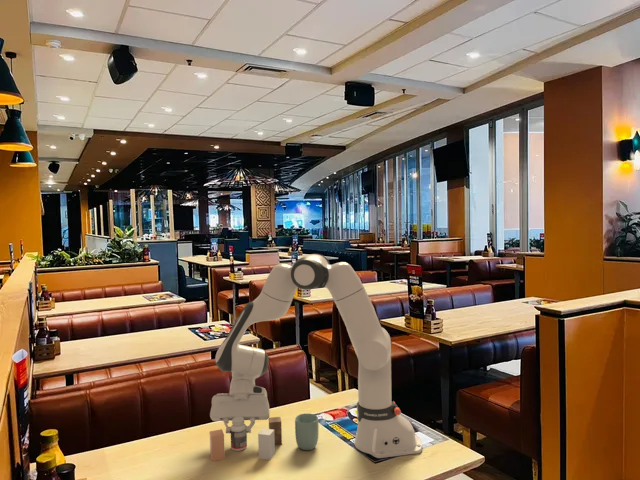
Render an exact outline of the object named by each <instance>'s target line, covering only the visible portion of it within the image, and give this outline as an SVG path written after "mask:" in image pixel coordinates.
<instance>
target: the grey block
mask: <svg viewBox="0 0 640 480" xmlns="http://www.w3.org/2000/svg"><path fill="white" fill-rule="evenodd" d="M257 440H258V442H257V444H258V459H262V460H270V461H271V460H272V459H273V457H274V456H275V454H276V453H275V452H276V451H275V450H276V449H275V448H276V447H275V446H276V445H275V440H274V430H273V429H269V428H262V429H261V430H260V431H259V433H258V435H257Z"/></svg>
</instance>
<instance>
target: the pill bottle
mask: <svg viewBox="0 0 640 480" xmlns="http://www.w3.org/2000/svg"><path fill="white" fill-rule="evenodd" d="M246 426H247V424H245V420H244V418H243V417H235V418H233V419H232V421H231V426H230V427H231V428H230V432H231V433H230V448H231V450H232V451H237V452H239V451H243V450H245V449H247V447H248V436H247V435H248V433H246Z"/></svg>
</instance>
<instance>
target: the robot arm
mask: <svg viewBox="0 0 640 480" xmlns="http://www.w3.org/2000/svg"><path fill="white" fill-rule="evenodd" d="M323 288H326V289H327V290H328V291H329V294H330V295H331V298H332V299H333V302H334V303H335V306H336V308H337V309H338V312H339V315H340V316H341V319H342V321H343V323H344V325H345V327H346V331H347V333H348V337H349V339H350V342H351V345H352V346H353V349H354V352H355V355H356V357H357V360H358V372H357V373H358V375H357V385H358V386H357V388H358V389H357V390H358V391H357V392H358V393H357V394H358V395H357V396H358V401H357V403H356V404H357V405H356V418H357V429H356V435H355V439H354V441H353V443H354V446H355V448H356V449H357V450H359V451H360V452H362V453H365V454H369V455H371V456H372V457H374V458H376V459H383V458H389V457H391V458H392V457H398V456H406V455H407V456H408V455H414V454H415V455H416V454H420V453H421V452H422V451H423V442H422V440H421V437H420V436H419V435H418V434H416V433H415V430H414V427H413V425H412V424H411V422H410V421H409V420H408V419H407V418H405V417H404V416H403V415H401V413H402V411H401V409H400V407H398V405H397V404H396V402H395V401H394V400H393V401H392V353H391V352H392V347H391V345H392V341H391V340H392V339H391V336H390V333H388V331H387V330H386V329H385V328H384V327H383V326H382V325H381V323H380V320H379V317H378V316H377V312H376V310H375V307H374V305H373V303H372V300H371V298H370V297H369V294H368V292H367V291H366V289H365V286H364V285H363V282H362V281H361V279H360V277H359V276H358V274H357V273H356V271H355V270H354V268H353V267H352V265H351V264H350V263H348V262H346V261H340V262H336V263H333V264H330V261H329V259H328V258H327V256H325V255H323V254H321V253H310V254H306V255H304V256H302V257H299V259H296V261H295V262H294V263H293V265H290V264H287V263H278V264H276V265H274V266H273V268H272V269H271V271H270V272H269V274H268V276H267V277H266V279H265V282H264V284H263V287H262V289H261V292H260V294H259V295H258V296H257V297H256V298H255V299H253V301H250V302H247V303H246V304H245V306H244V307H243V308H242V310H241V312H240V313H239V314H238V316H237V318H236V320H235V322H234V323H233V325H232V327H231V329H230V330H229V332H228V334H227V335H226V337H225V339H224V340H223V341H222V343H221V344H220V345H219V348H217V351H216V354H215V359H214V360H215V361H214V362H215V364H216V367H217V368H218V369H219V370H220V371H221V372H225V373H226V372H227V373H231V377H232V379H231V381H230V385H229V392H228V393H227V392H226V393H216V394H215V395H213V396H212V398H211V408H210V412H209V417H210V420H212V422H221V421H222V422H223V423H224V426H225V434H231V432H230V428H231V426H228V424H229V423H230V422H232V419H233V418H235V417H243V418H244V421H250V423H249V425H246V433H247V434H251V433H252V428H253V427H254V425H255V423H256V421H267V420H269V418H271V417H270V416H271V415H270V413H271V412H270V403H269V400H268V392H267V390H266V388H264V387H262V386H259V385H256V379H258V378H260V377H262V376H263V375H265V374H266V373H267V371H268V368H269V363H270V361H269V359H270V357H269V355H268V353H267V352H266V350H265V349H263V348H258V347H254V346H249V345H243V344H239V343H240V342H241V340H242V338H243V336H244V334H245V333H246V332H247V331H246V330H247V329H248V328H249V327H250V326H251V325H253V324H254V325H255V323H256V324H257V323H260V322H269V321H274V320H278V319H281V318H282V317H284V316H285V315H286V314H287V313H288V311H289V309H290V307H291V305H292V302H293V299H294V298H295V297H294V296H295V295H296V294H295V293H296V291H297V290H298V289H301V290H309V291H310V290H317V289H323Z"/></svg>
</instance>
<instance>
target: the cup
mask: <svg viewBox="0 0 640 480" xmlns="http://www.w3.org/2000/svg"><path fill="white" fill-rule="evenodd" d="M294 430H295V431H294V433H295V442H296V445H297V447H298V448H299V449H301V450H303V451H311V450H313V449H315V448H316V447H317V445H318V441H319V432H320V431H319V430H320V429H319V416H317V414H314V413H301V414H298V415H296V417H294Z"/></svg>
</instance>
